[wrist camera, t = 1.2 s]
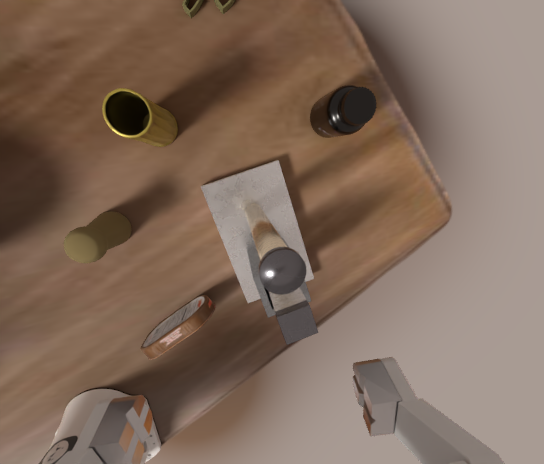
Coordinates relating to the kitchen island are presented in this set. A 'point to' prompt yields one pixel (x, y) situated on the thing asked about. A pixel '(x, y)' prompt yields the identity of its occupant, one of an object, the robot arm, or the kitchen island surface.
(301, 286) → the stand
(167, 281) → the kitchen island surface
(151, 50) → the kitchen island surface
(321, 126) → the supplement bottle
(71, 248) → the olive waisted cylinder
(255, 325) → the kitchen island surface
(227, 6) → the cookie cutter
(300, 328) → the column
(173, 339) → the tin
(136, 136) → the vase
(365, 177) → the kitchen island surface
